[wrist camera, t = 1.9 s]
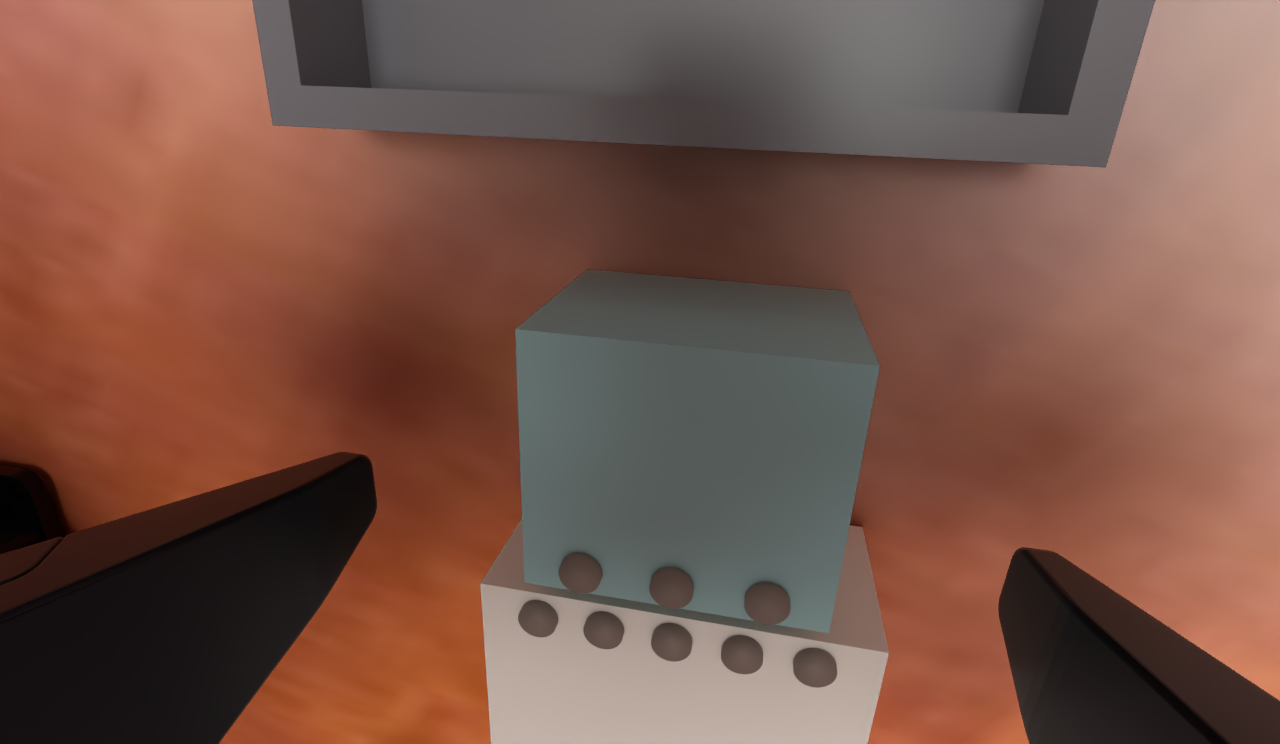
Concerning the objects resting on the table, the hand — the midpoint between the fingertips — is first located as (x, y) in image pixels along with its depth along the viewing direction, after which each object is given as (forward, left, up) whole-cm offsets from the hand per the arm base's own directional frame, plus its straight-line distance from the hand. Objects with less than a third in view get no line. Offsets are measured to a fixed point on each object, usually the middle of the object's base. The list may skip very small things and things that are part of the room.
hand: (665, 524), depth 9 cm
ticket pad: (0, -8, -5) cm, 9 cm away
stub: (0, 0, -5) cm, 5 cm away
